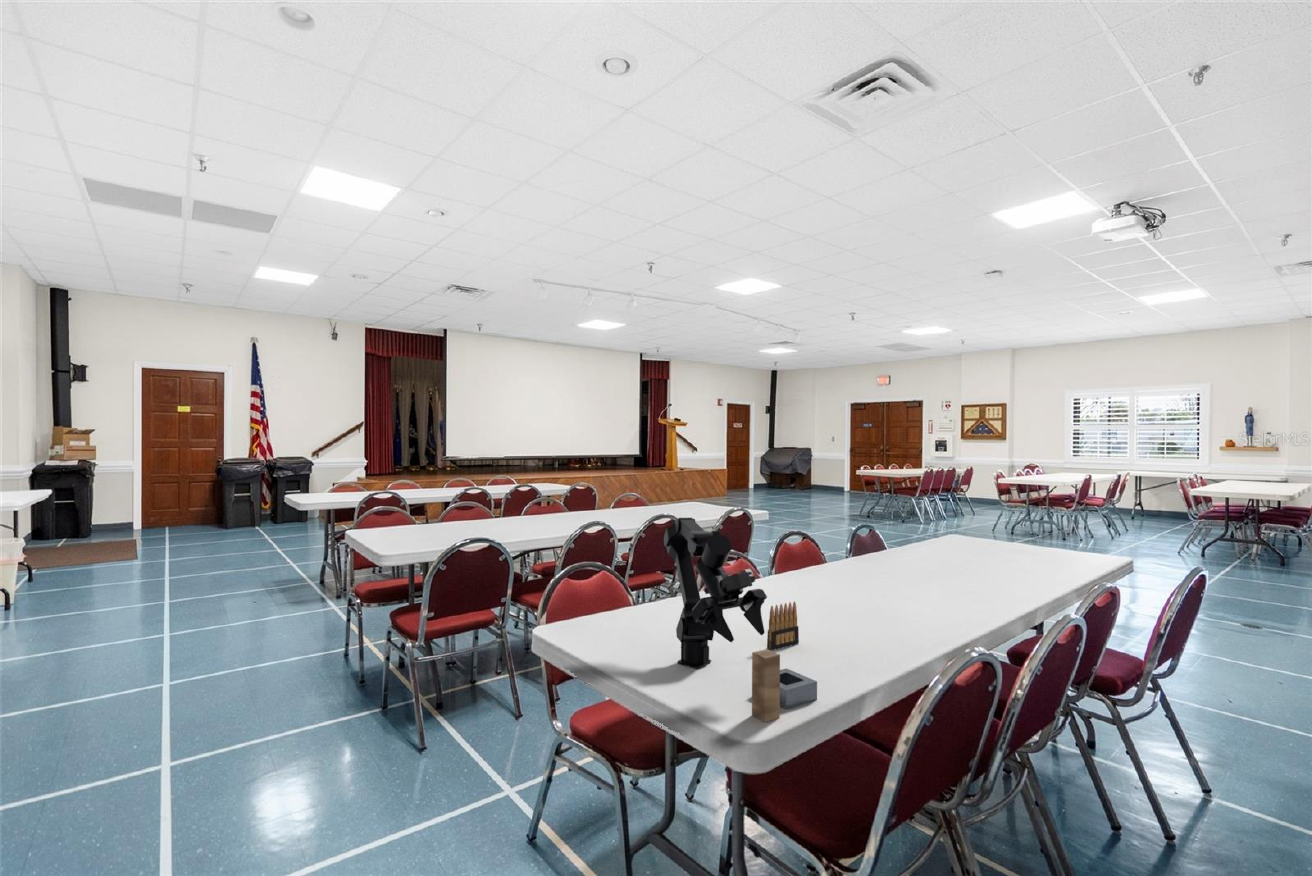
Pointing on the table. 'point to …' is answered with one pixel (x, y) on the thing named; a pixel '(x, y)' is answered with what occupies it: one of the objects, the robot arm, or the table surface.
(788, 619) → the ammunition clip
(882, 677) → the table surface
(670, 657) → the table surface
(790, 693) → the square collar
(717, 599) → the robot arm
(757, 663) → the walnut peg
